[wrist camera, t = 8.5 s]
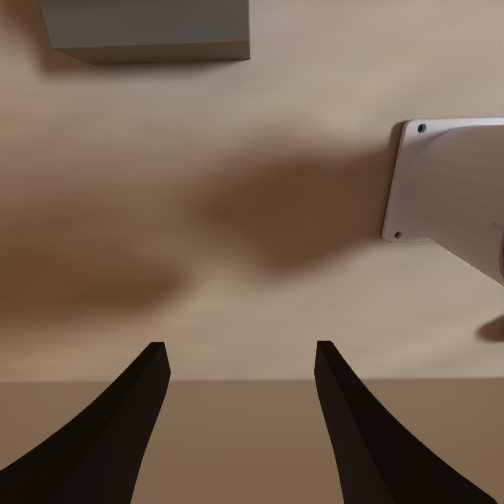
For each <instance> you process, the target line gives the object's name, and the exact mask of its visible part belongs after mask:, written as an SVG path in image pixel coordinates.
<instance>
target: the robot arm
mask: <svg viewBox="0 0 504 504" xmlns="http://www.w3.org/2000/svg"><path fill="white" fill-rule="evenodd" d="M420 124H422V126H423V129H422V131H421V132H418V126H419V125H420ZM396 232H399V234H398V235H397V236H395V237H394V235H395V233H396ZM382 237H383V239H385V240H386V241H434V242H436V243H437V244H439V245H440V246H442V247H444V248H445V249H447V250H448V251H450V252H451V253H453V254H455V255H456V256H458V257H459V258H461V259H462V260H464V261H465V262H467V263H469V264H470V265H472V266H473V267H475V268H476V269H478V270H480V271H481V272H483V273H484V274H486V275H487V276H489V277H490V278H492V279H494V280H495V281H497V282H498V283H500V284H501V285H503V286H504V117H484V118H450V119H416V120H409V121H408V122H406V123H405V125H404V126H403V129H402V134H401V139H400V144H399V149H398V154H397V159H396V165H395V170H394V175H393V180H392V185H391V190H390V195H389V200H388V205H387V210H386V215H385V220H384V225H383V230H382ZM170 375H171V371H170V366H169V362H168V357H167V353H166V348H165V344H164V342H151V343H150V344H149V345H148V346H147V347H146V348H145V349H144V350H143V351H142V352H141V354H140V355H139V356H138V357H137V358H136V359H135V360H134V361H133V362H132V363H131V364H130V365H129V366H128V368H127V369H126V370H125V371H124V372H123V373H122V374H121V375H120V376H119V377H118V378H117V379H116V380H115V381H114V382H113V383H112V384H111V385H110V386H109V387H108V388H107V389H106V390H105V391H104V392H103V393H102V394H100V395H99V396H98V397H97V398H96V399H95V400H94V401H93V402H92V403H91V404H90V405H89V406H87V407H86V408H85V409H84V410H83V411H82V412H81V413H79V414H78V415H77V416H76V417H75V418H74V419H72V420H71V421H70V422H68V423H67V424H66V425H64V426H63V427H62V428H61V429H59V430H58V431H57V432H55V433H54V434H53V435H51V436H50V437H49V438H48V439H46V440H45V441H43V442H42V443H41V444H39V445H38V446H37V447H35V448H34V449H32V450H31V451H30V452H28V453H27V454H25V455H24V456H22V457H21V458H19V459H18V460H16V461H15V462H13V463H12V464H10V465H9V466H7V467H6V468H4V469H3V470H1V471H0V504H130V502H131V499H132V494H133V490H134V487H135V483H136V480H137V476H138V472H139V469H140V465H141V462H142V458H143V456H144V453H145V449H146V447H147V444H148V441H149V438H150V436H151V433H152V431H153V428H154V425H155V422H156V419H157V417H158V414H159V412H160V409H161V406H162V403H163V401H164V398H165V395H166V391H167V387H168V383H169V379H170ZM314 375H315V381H316V387H317V392H318V397H319V401H320V404H321V408H322V411H323V415H324V418H325V422H326V425H327V429H328V433H329V435H330V439H331V443H332V447H333V450H334V454H335V459H336V463H337V468H338V473H339V478H340V483H341V488H342V494H343V499H344V504H498V503H497V502H496V501H495V499H493V498H492V497H491V496H489V495H488V494H487V493H485V492H484V491H483V490H481V489H480V488H478V487H477V486H476V485H474V484H473V483H472V482H470V481H469V480H467V479H466V478H465V477H463V476H462V475H461V474H459V473H458V472H457V471H455V470H454V469H453V468H451V467H450V466H449V465H447V463H445V462H444V461H443V460H442V459H440V458H439V457H438V456H437V455H435V454H434V453H433V452H432V451H431V450H430V449H428V448H427V447H426V446H425V445H424V444H423V443H422V442H420V441H419V440H418V439H417V438H416V437H415V436H413V435H412V434H411V433H410V432H409V431H408V430H407V429H406V428H405V427H404V426H403V425H402V424H401V423H400V422H399V421H397V420H396V419H395V418H394V417H393V416H392V415H391V414H390V413H389V412H388V411H387V410H386V408H385V407H384V406H383V405H382V404H381V403H380V402H379V401H378V400H377V399H376V398H375V396H373V394H372V393H371V392H370V391H369V390H368V389H367V388H366V386H365V385H364V384H363V383H362V381H361V380H360V379H359V378H358V376H357V375H356V374H355V373H354V371H353V370H352V369H351V368H350V366H349V365H348V364H347V362H346V361H345V360H344V358H343V357H342V355H341V354H340V353H339V351H338V350H337V348H336V347H335V345H334V344H333V343H332V342H331V341H317V349H316V359H315V368H314Z"/></svg>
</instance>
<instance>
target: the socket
mask: <svg viewBox="0 0 504 504" xmlns="http://www.w3.org/2000/svg"><path fill="white" fill-rule="evenodd" d="M38 2H39V5H40V9H41V12H42V16H43V19H44V23H45V26H46V30H47V33H48V37H49V40H50V44H51V47H52V49H55V50H57V51H60V52H63V53H65V54H68V55H70V56H73V57H75V58H78V59H81V60H83V61H86V62H88V63H91V64H93V65H97V64H125V63H153V62H182V61H210V60H238V59H250V29H249V0H38Z"/></svg>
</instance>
